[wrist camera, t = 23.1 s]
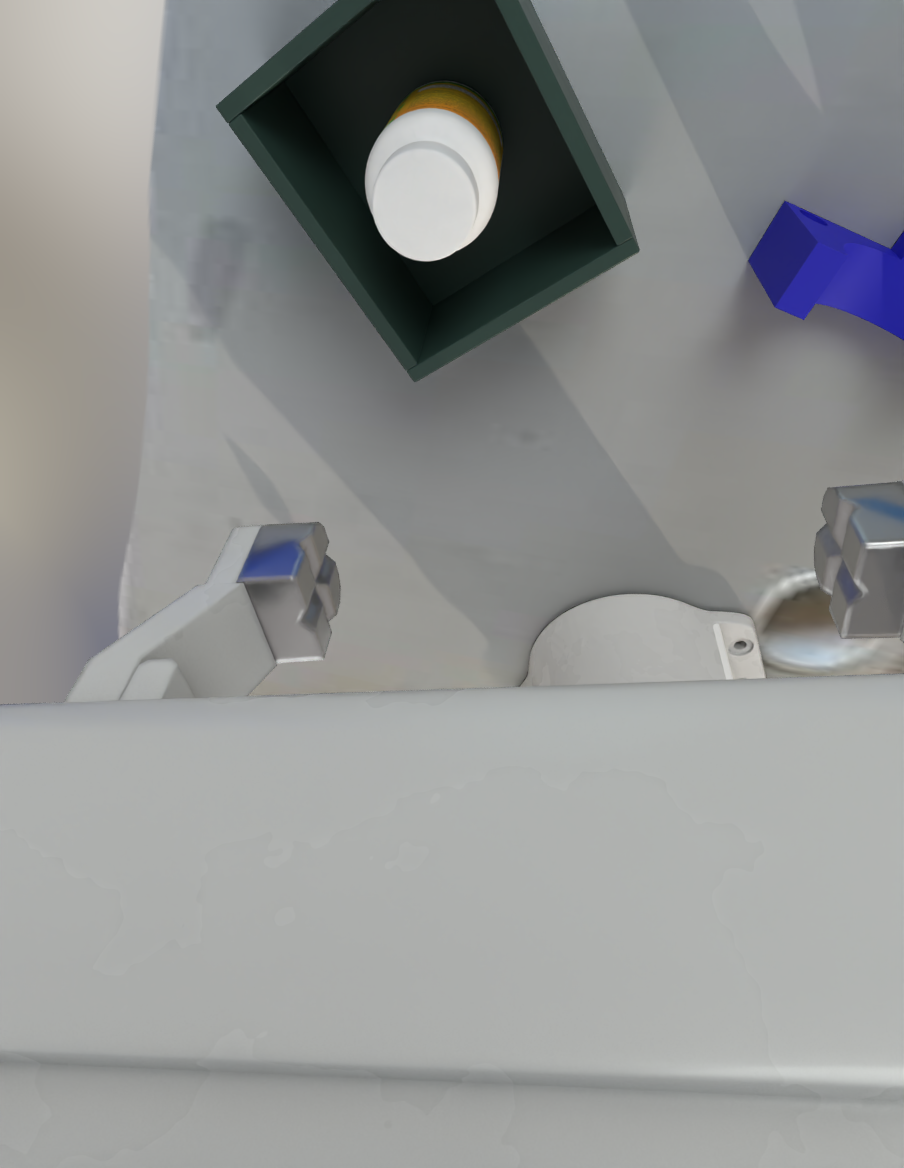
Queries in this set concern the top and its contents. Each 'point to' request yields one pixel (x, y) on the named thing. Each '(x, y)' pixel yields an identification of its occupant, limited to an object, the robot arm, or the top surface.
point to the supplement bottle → (435, 171)
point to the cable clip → (830, 269)
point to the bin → (358, 116)
